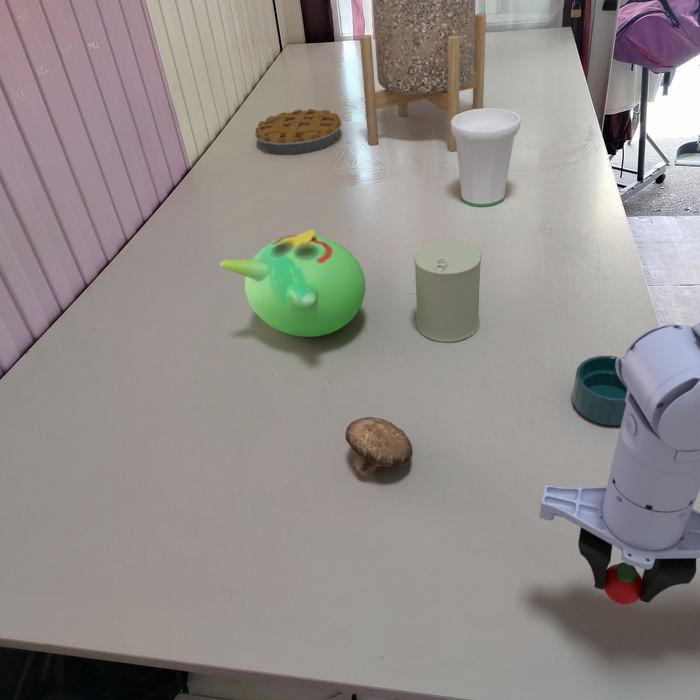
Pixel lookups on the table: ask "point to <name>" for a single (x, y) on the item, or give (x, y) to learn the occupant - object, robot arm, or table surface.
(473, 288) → the can
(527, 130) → the table surface
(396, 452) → the mushroom
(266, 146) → the pie
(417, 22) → the planter
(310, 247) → the toy bird
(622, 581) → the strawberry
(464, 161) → the cup
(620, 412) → the bowl
